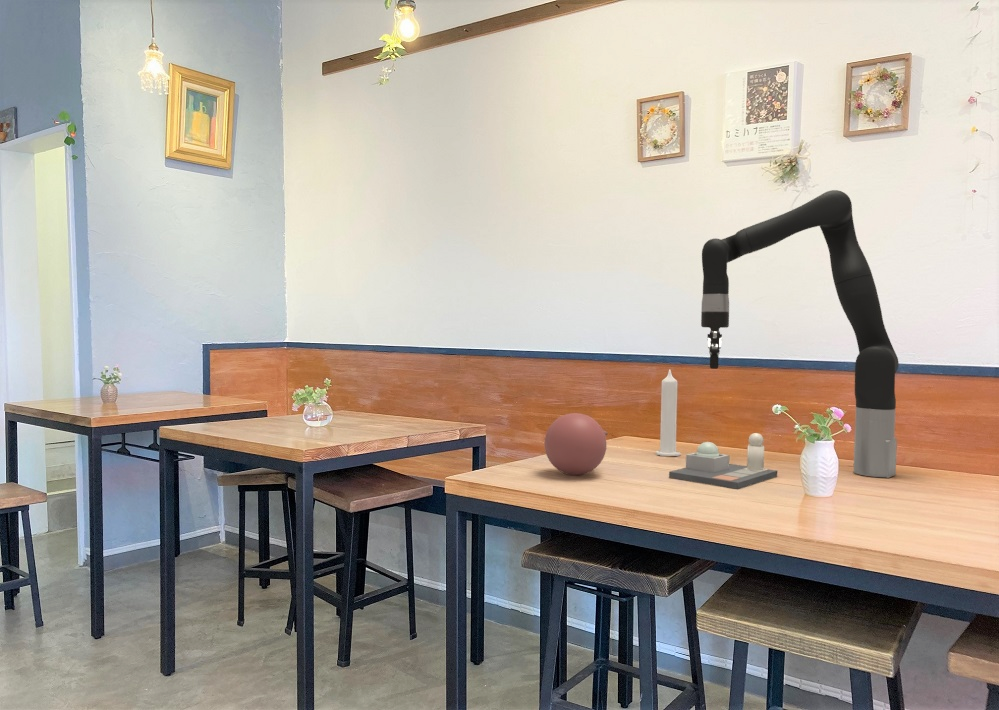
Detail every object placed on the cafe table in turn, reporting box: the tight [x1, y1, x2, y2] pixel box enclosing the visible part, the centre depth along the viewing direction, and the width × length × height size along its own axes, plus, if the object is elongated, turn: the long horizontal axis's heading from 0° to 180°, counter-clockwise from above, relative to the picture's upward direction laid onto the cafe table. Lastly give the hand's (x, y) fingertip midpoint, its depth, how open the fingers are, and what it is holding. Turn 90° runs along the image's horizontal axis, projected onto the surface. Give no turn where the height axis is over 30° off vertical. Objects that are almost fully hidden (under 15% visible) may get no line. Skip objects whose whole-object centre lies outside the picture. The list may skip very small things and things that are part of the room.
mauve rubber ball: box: [543, 412, 609, 476], centre depth 190 cm, size 15×20×15 cm
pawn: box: [746, 432, 765, 471], centre depth 192 cm, size 4×4×9 cm
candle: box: [655, 369, 681, 457], centre depth 221 cm, size 7×7×25 cm
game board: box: [668, 451, 778, 490], centre depth 189 cm, size 18×22×5 cm
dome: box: [696, 441, 720, 458], centre depth 192 cm, size 5×5×5 cm
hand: (713, 368), depth 214 cm, fingers open, 8 cm apart
